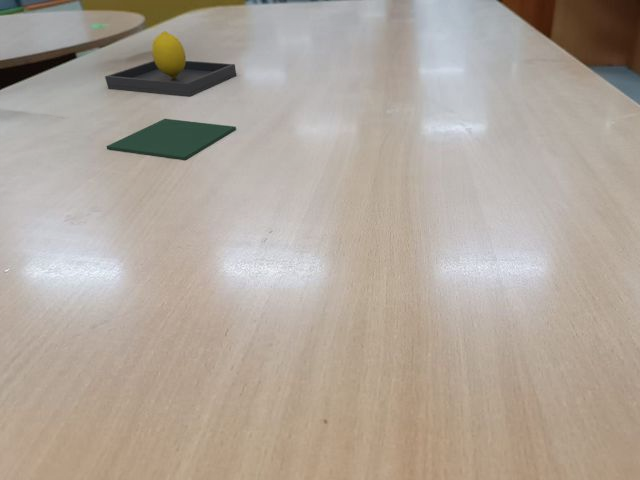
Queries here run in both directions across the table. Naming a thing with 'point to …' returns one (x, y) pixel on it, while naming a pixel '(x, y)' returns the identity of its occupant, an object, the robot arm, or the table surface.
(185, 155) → the mat
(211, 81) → the tray
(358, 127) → the table surface
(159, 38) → the lemon
